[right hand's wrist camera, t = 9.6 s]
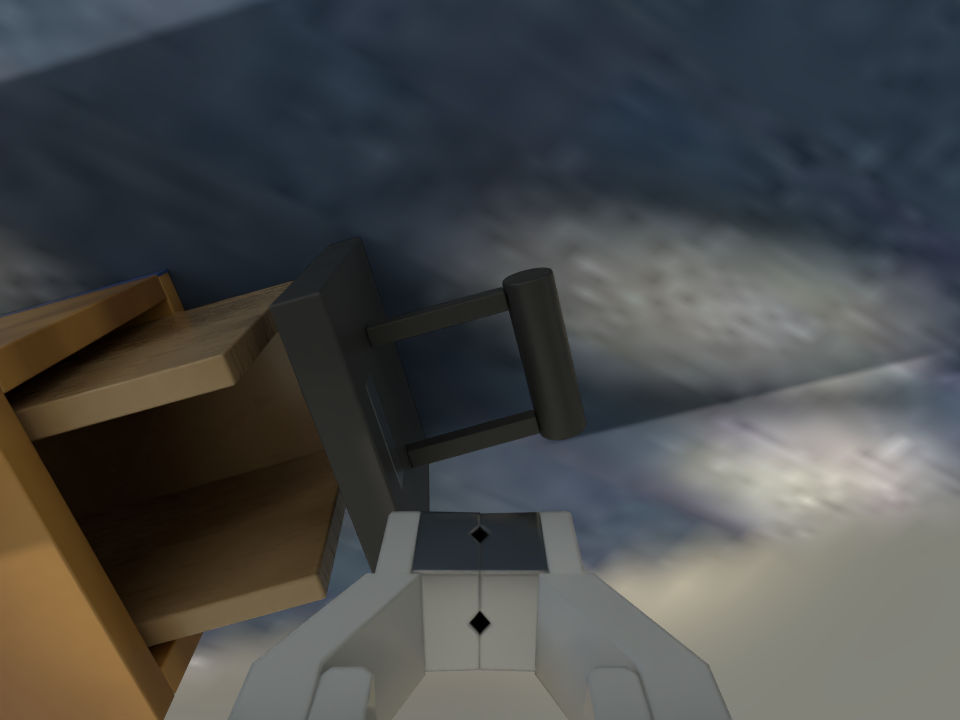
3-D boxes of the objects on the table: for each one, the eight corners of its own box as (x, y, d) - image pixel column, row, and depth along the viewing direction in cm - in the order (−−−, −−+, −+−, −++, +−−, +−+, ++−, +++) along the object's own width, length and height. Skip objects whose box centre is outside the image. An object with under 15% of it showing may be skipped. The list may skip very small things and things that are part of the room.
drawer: (513, 193, 22) (570, 222, 14) (564, 410, 25) (637, 548, 16) (-67, 353, 22) (-377, 483, 14) (51, 551, 25) (-144, 762, 16)
